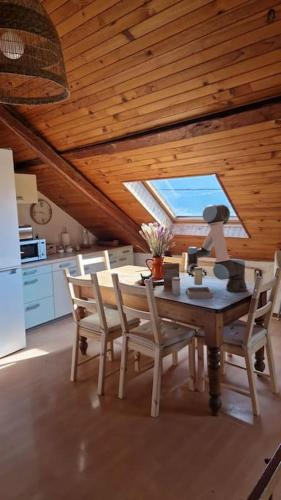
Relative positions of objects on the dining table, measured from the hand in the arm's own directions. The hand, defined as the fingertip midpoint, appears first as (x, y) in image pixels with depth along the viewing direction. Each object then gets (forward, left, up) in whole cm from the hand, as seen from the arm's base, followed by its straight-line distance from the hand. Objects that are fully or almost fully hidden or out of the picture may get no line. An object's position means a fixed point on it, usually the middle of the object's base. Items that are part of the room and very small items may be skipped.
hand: (199, 276), depth 244 cm
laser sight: (+48, -12, -15) cm, 52 cm away
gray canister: (+18, +1, -15) cm, 23 cm away
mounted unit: (+27, -11, -15) cm, 33 cm away
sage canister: (+3, -4, -7) cm, 9 cm away
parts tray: (+2, -4, -15) cm, 16 cm away
